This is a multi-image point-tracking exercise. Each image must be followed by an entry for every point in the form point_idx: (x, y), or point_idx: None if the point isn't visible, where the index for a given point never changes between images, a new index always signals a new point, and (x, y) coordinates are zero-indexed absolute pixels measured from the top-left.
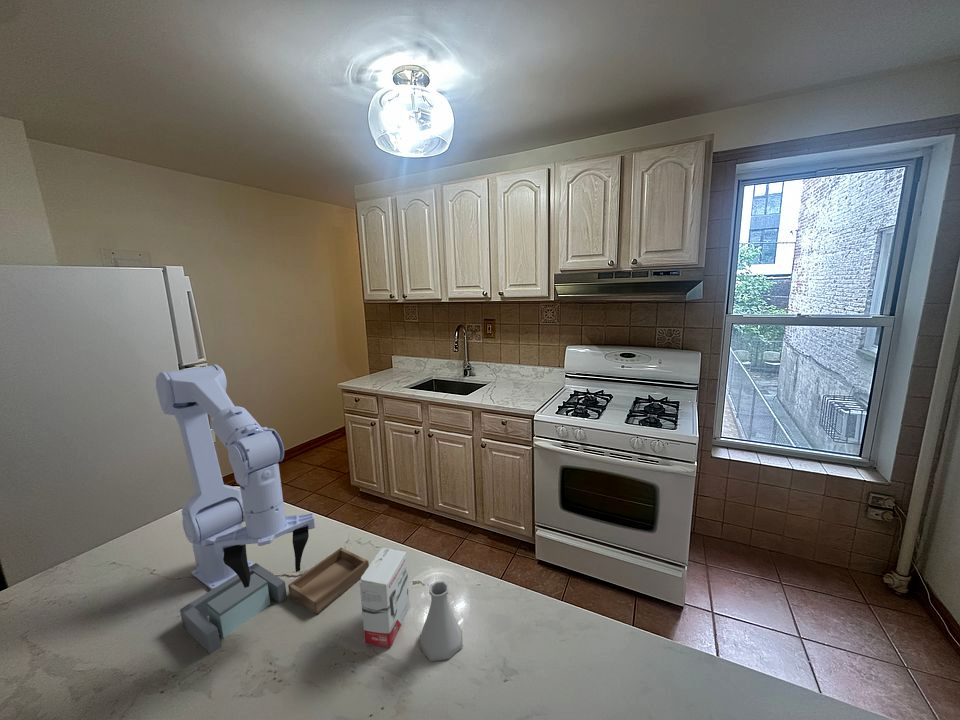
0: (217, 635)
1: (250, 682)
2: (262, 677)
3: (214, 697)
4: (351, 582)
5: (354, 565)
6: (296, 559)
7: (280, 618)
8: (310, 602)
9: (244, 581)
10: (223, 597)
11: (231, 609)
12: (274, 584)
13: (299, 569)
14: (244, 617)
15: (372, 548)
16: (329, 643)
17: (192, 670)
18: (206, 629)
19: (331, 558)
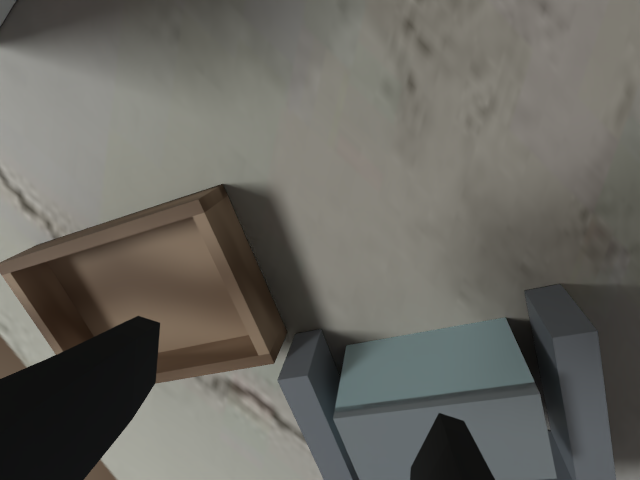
0: (547, 318)
1: (496, 45)
2: (455, 35)
3: (620, 74)
4: (86, 230)
5: (73, 301)
6: (57, 381)
7: (333, 264)
8: (222, 231)
9: (474, 464)
10: (496, 460)
11: (484, 386)
12: (313, 393)
13: (128, 320)
14: (433, 343)
15: (19, 333)
16: (208, 10)
17: (629, 258)
18: (587, 362)
19: None
